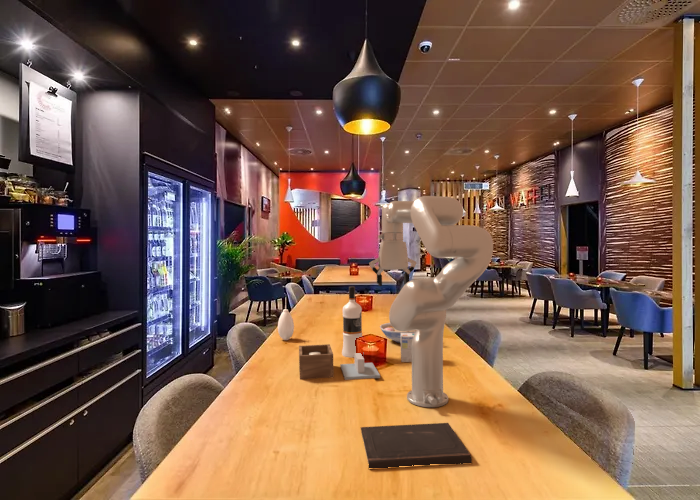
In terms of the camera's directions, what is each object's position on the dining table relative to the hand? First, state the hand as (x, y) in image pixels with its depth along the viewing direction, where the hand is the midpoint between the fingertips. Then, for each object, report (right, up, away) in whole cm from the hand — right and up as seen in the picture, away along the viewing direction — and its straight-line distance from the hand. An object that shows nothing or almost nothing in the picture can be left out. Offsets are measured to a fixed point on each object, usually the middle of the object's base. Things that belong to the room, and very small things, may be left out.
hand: (393, 285), depth 143 cm
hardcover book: (-1, -35, -49) cm, 60 cm away
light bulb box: (+11, -33, +20) cm, 40 cm away
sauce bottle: (-48, -33, +56) cm, 81 cm away
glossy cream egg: (-29, -33, +8) cm, 44 cm away
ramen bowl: (+10, -32, +51) cm, 61 cm away
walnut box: (-28, -34, +5) cm, 44 cm away
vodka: (-14, -33, +27) cm, 45 cm away
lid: (-12, -34, +4) cm, 36 cm away
